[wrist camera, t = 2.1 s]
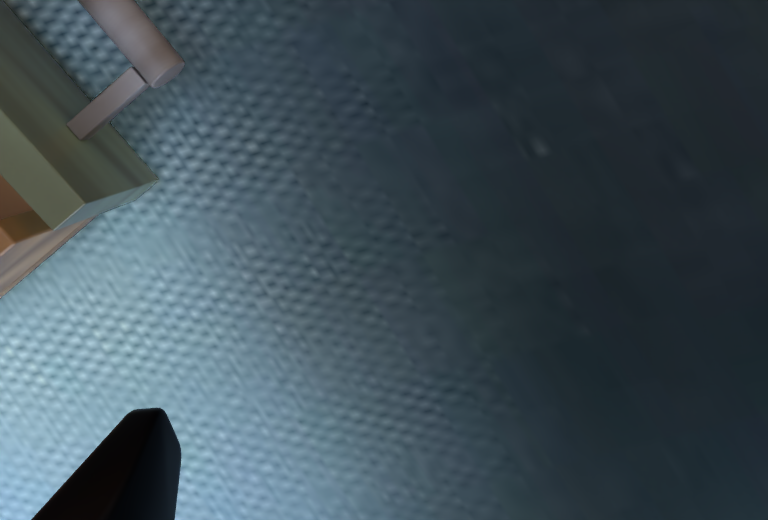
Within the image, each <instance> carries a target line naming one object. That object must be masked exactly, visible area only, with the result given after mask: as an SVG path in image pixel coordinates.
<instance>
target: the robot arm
mask: <svg viewBox="0 0 768 520" xmlns="http://www.w3.org/2000/svg"><path fill="white" fill-rule="evenodd" d="M180 467H181V448H180V444H179V441H178V439H177V437H176V434H175V432H174V430H173V428H172V425H171V423H170V421H169V419H168V416H167V414H166V413H165V411H164V410H163V409H161V408H147V409H136V410H133V411H131V412H130V413H128V414H127V415H126V416H125V417H124V418H123V419H122V420H121V421H120V423H119V424H118V425H117V426H116V427H115V428H114V429H113V430H112V431H111V432H110V434H109V435H108V436H107V437H106V438H105V439H104V440H103V441H102V442H101V443H100V445H99V446H98V447H97V448H96V449H95V450H94V451H93V452H92V453H91V455H90V456H89V457H88V458H87V459H86V460H85V461H84V462H83V463H82V464H81V466H80V467H79V468H78V469H77V470H76V471H75V472H74V473H73V474H72V475H71V477H70V478H69V479H68V480H67V481H66V482H65V483H64V484H63V485H62V486H61V488H60V489H59V490H58V491H57V492H56V493H55V494H54V495H53V496H52V497H51V499H50V500H49V501H48V502H47V503H46V504H45V505H44V506H43V507H42V508H41V510H40V511H39V512H38V513H37V514H36V515H35V516H34V517H33V518H32V519H31V520H174V519H175V510H176V502H177V493H178V484H179V475H180Z"/></svg>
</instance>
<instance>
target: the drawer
mask: <svg viewBox="0 0 768 520" xmlns="http://www.w3.org/2000/svg"><path fill="white" fill-rule="evenodd" d="M78 1H79V2H80V4H81V5H82V6H83V7H84V8H85V9H86V11H87V12H88V13H89V14H90V15H91V17H92V18H93V19H94V20H95V21H96V22H97V24H98V25H99V26H100V27H101V28H102V30H103V31H104V32H105V33H106V34H107V35H108V37H109V38H110V39H111V40H112V41H113V42H114V44H115V45H116V46H117V47H118V48H119V50H120V51H121V52H122V53H123V54H124V55H125V57H126V58H127V59H128V60H129V61H130V63H131V64H132V65H133V66H134V67H130V68H129V69H127V70H126V71H125V72H124V73H123V74H122V75H121V76H120V77H118V78H117V79H116V80H115V81H114V82H113V83H112V84H111V85H109V86H108V87H107V88H106V89H105V90H104V91H103V92H102V93H100V94H99V95H98V96H97V97H96V98H95V99H94V100H93V101H92V102H91V101H90V100H89V99H88V98H87V97H86V95H85V94H84V93H83V92H82V91H81V90H80V88H79V87H78V86H77V85H76V84H75V83H74V82H73V80H72V79H71V78H70V77H69V76H68V75H67V74H66V72H65V71H64V70H63V69H62V68H61V67H60V66H59V64H58V63H57V62H56V61H55V60H54V59H53V58H52V56H51V55H50V54H49V53H48V52H47V51H46V50H45V48H44V47H43V46H42V45H41V44H40V43H39V42H38V40H37V39H36V38H35V37H34V36H33V35H32V34H31V32H30V31H29V30H28V29H27V28H26V27H25V26H24V24H23V23H22V22H21V21H20V20H19V19H18V18H17V16H16V15H15V14H14V13H13V12H12V11H11V10H10V8H9V7H8V6H7V5H6V4H5V3H4V1H3V0H0V298H1V297H3V296H4V295H5V294H6V293H7V292H8V291H10V290H11V289H12V288H13V287H14V286H15V285H17V284H18V283H19V282H20V281H21V280H22V279H24V278H25V277H26V276H27V275H28V274H29V273H31V272H32V271H33V270H34V269H35V268H37V267H38V266H39V265H40V264H41V263H42V262H44V261H45V260H46V259H47V258H48V257H49V256H51V255H52V254H53V253H54V252H55V251H56V250H58V249H59V248H60V247H61V246H62V245H63V244H65V243H66V242H67V241H68V240H69V239H71V238H72V237H73V236H74V235H75V234H76V233H78V232H79V231H80V230H81V229H82V228H83V227H85V226H86V225H87V224H88V223H89V222H90V221H92V220H93V219H94V218H95V217H96V216H98V215H99V214H101V213H103V212H106V211H109V210H111V209H114V208H117V207H119V206H122V205H125V204H127V203H130V202H132V201H135V200H136V199H137V198H139V197H140V196H141V195H142V194H143V193H144V192H146V191H147V190H148V189H149V188H150V187H152V186H153V185H154V184H155V183H156V182H157V181H158V180H159V179H158V178H157V177H156V175H155V174H154V173H153V172H152V171H151V170H150V169H149V167H148V166H147V165H146V164H145V163H144V162H143V161H142V159H141V158H140V157H139V156H138V155H137V154H136V153H135V151H134V150H133V149H132V148H131V147H130V146H129V145H128V143H127V142H126V141H125V140H124V139H123V138H122V137H121V135H120V134H119V133H118V132H117V131H116V130H115V129H114V127H113V126H112V125H111V124H110V123H109V122H110V121H111V120H112V119H113V118H114V117H115V116H116V115H118V114H119V113H120V112H121V111H122V110H123V109H124V108H126V107H127V106H128V105H129V104H130V103H131V102H132V101H133V100H135V99H136V98H137V97H138V96H139V95H140V94H141V93H143V92H144V91H145V90H146V89H147V88H148V87H149V86H151V87H152V88H158V87H161V86H163V85H165V84H166V83H168V82H169V81H171V80H172V79H173V78H174V77H176V76H177V75H178V74H179V73H180V72H181V70H182V69H183V67H184V66H185V62H184V60H183V59H182V58H181V57H180V55H179V54H178V53H177V52H176V50H175V49H174V48H173V47H172V46H171V44H170V43H169V42H168V41H167V40H166V38H165V37H164V36H163V35H162V34H161V32H160V31H159V30H158V29H157V27H156V26H155V25H154V24H153V23H152V21H151V20H150V19H149V18H148V17H147V15H146V14H145V13H144V12H143V11H142V9H141V8H140V7H139V6H138V5H137V3H136V2H135V1H134V0H78Z"/></svg>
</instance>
